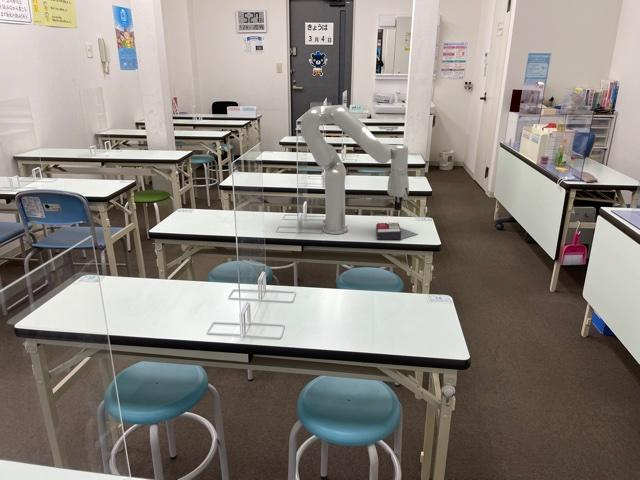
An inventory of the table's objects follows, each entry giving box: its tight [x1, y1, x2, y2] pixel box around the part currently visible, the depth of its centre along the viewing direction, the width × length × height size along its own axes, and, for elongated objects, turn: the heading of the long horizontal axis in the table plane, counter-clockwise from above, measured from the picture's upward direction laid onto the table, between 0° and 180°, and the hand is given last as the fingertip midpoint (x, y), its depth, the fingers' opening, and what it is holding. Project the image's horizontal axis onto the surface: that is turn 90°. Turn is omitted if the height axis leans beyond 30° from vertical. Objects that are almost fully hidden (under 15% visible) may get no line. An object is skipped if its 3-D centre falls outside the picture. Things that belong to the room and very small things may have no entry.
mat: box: [400, 227, 419, 241], centre depth 228 cm, size 12×11×1 cm
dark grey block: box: [375, 222, 401, 241], centre depth 227 cm, size 11×4×15 cm
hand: (397, 209), depth 227 cm, fingers closed
